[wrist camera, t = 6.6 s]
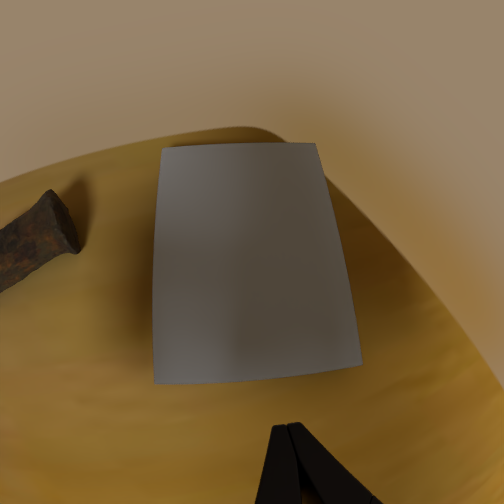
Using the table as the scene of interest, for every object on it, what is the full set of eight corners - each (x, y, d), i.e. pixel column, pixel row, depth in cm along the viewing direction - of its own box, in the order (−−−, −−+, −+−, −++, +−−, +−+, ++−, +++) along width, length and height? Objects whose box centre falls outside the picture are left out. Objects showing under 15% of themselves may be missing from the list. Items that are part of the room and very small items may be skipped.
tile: (363, 364, 14) (315, 143, 19) (154, 384, 13) (162, 148, 18) (346, 367, 16) (308, 164, 21) (164, 384, 15) (167, 170, 20)
